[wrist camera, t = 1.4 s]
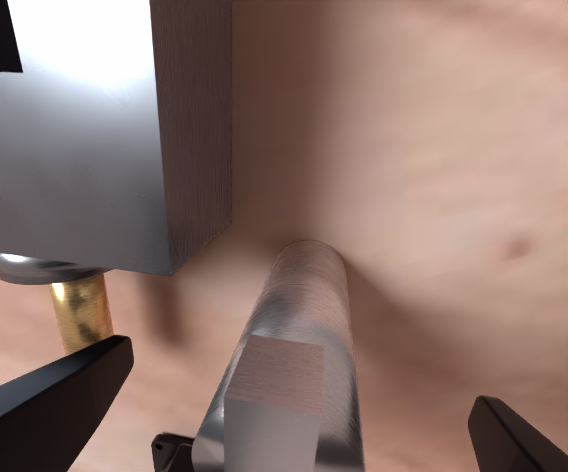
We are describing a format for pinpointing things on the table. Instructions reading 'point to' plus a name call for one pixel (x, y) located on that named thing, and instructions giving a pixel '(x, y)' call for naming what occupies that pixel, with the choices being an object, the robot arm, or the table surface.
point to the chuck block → (110, 145)
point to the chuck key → (289, 377)
